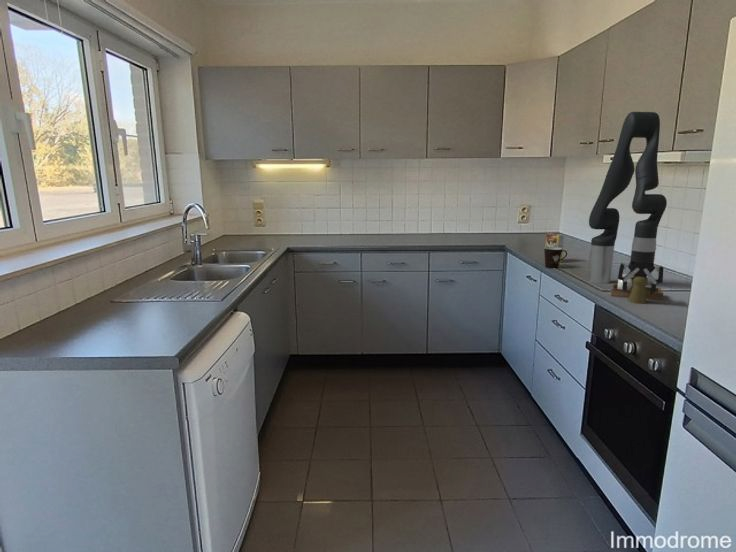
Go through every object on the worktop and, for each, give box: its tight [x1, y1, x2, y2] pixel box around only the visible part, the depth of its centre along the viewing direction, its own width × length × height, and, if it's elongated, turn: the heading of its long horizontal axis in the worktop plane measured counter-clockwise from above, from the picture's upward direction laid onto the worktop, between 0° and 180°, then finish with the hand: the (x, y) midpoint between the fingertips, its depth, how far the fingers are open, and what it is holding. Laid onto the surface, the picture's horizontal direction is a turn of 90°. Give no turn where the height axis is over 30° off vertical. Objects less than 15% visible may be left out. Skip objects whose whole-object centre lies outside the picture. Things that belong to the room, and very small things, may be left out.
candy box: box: [544, 232, 565, 263], centre depth 253 cm, size 9×4×15 cm, turn 26°
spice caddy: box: [610, 283, 665, 302], centre depth 180 cm, size 9×17×4 cm, turn 64°
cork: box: [627, 275, 649, 305], centre depth 171 cm, size 6×6×11 cm
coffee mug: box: [543, 247, 568, 269], centre depth 238 cm, size 12×9×10 cm
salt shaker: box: [617, 272, 633, 290], centre depth 181 cm, size 5×5×8 cm
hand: (638, 292), depth 171 cm, fingers open, 8 cm apart
